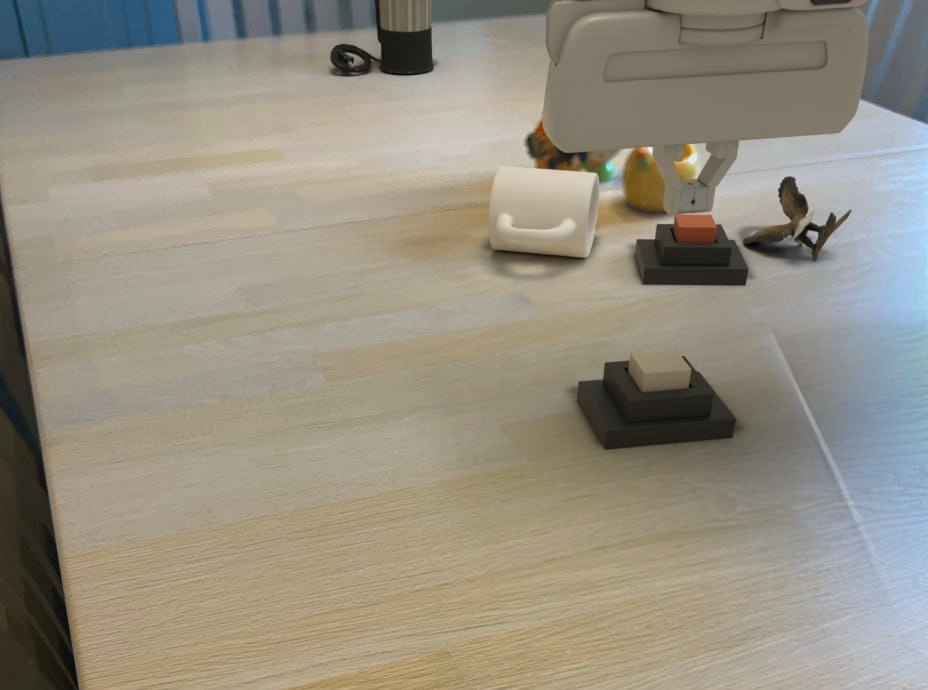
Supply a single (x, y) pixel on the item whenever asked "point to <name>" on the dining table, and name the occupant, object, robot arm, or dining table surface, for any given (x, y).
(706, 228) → the terracotta key
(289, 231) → the dining table surface
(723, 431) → the black stepped base
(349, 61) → the milk frother
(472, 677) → the dining table surface
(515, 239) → the mug
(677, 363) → the cream key
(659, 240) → the dark grey stepped base
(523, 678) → the dining table surface
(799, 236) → the eagle figurine
